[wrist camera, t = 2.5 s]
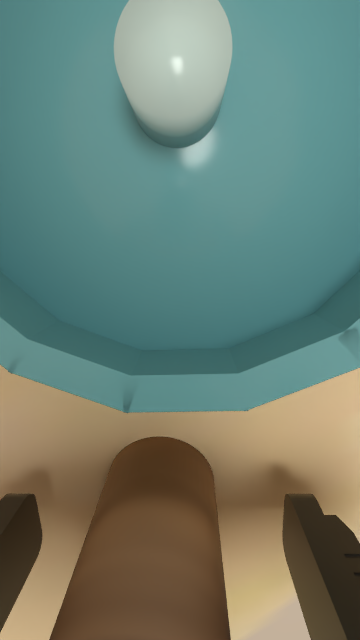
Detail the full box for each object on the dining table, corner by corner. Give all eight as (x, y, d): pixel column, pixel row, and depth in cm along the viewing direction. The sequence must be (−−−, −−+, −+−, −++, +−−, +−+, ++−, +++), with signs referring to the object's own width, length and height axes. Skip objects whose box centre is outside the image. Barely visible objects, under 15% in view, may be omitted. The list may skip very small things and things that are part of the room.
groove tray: (-174, -254, 6) (-413, -585, 4) (537, -334, 5) (807, -785, 3) (-31, 373, 9) (-106, 416, 7) (417, 363, 9) (501, 407, 6)
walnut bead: (103, 437, 10) (17, 630, 5) (213, 436, 9) (238, 634, 5) (113, 524, 10) (49, 764, 6) (214, 524, 10) (236, 769, 6)
